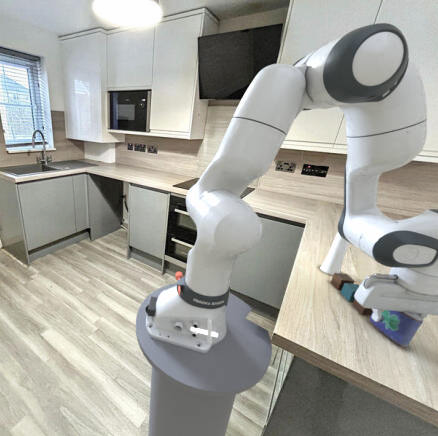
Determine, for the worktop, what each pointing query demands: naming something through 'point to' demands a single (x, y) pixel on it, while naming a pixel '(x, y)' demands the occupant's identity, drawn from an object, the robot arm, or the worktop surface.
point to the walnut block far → (341, 280)
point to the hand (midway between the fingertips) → (392, 321)
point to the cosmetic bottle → (335, 256)
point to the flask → (398, 326)
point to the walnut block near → (362, 309)
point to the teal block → (349, 291)
